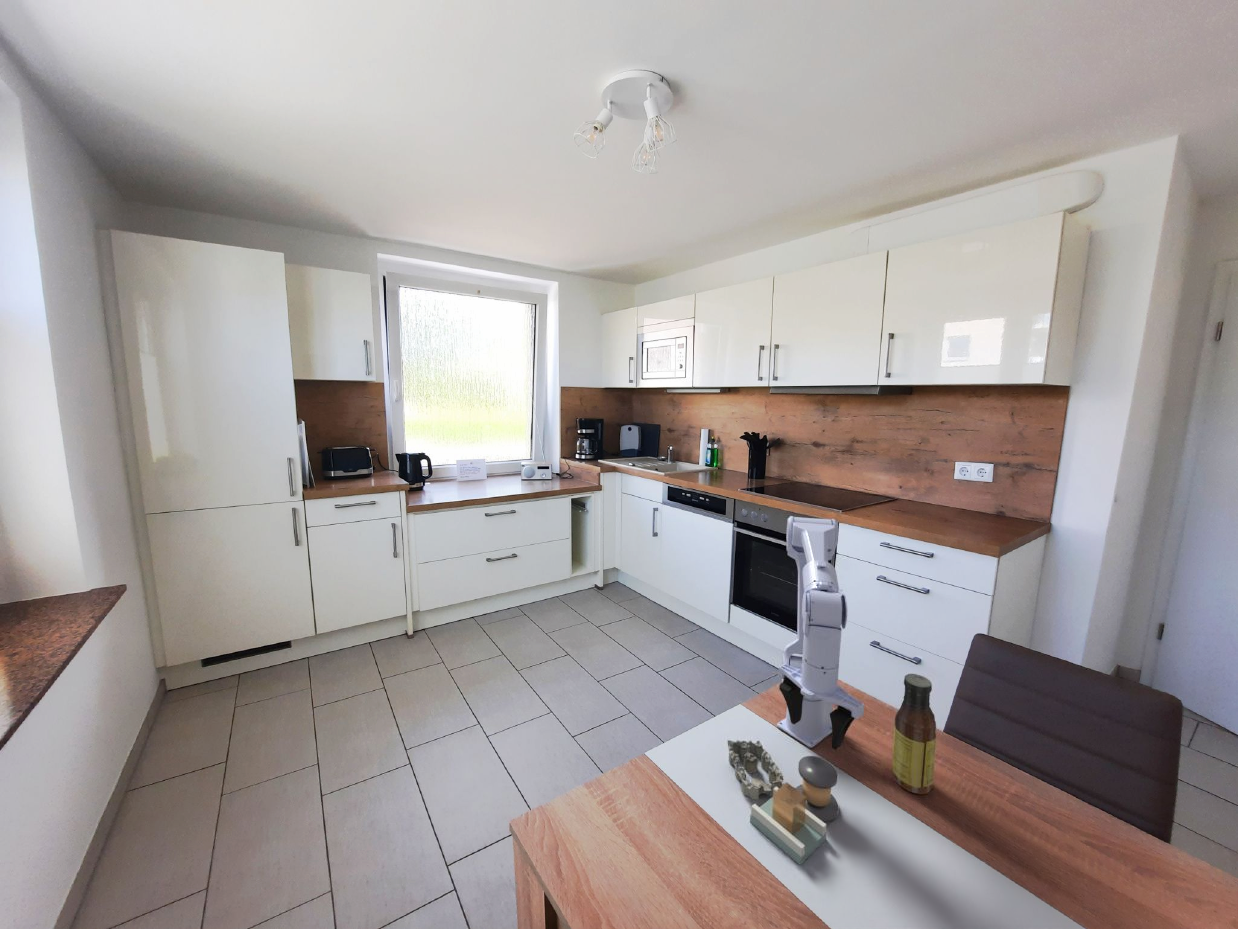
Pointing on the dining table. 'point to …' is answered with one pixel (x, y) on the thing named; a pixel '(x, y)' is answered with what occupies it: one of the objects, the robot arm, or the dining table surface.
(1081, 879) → the dining table surface
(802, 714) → the robot arm
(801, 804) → the wooden block
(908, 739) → the sauce bottle
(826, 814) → the spool
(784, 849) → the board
